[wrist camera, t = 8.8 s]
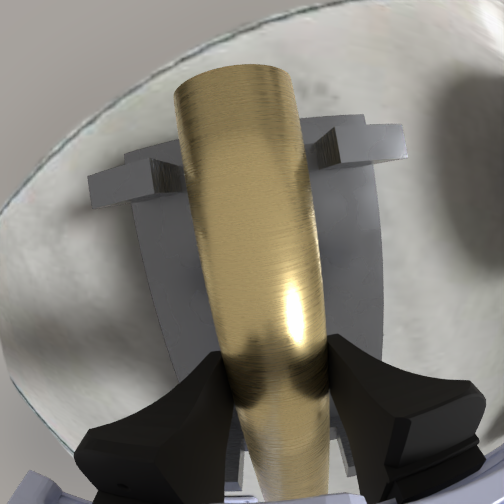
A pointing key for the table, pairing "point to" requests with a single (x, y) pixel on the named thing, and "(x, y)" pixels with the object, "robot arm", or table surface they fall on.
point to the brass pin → (261, 267)
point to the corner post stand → (329, 238)
